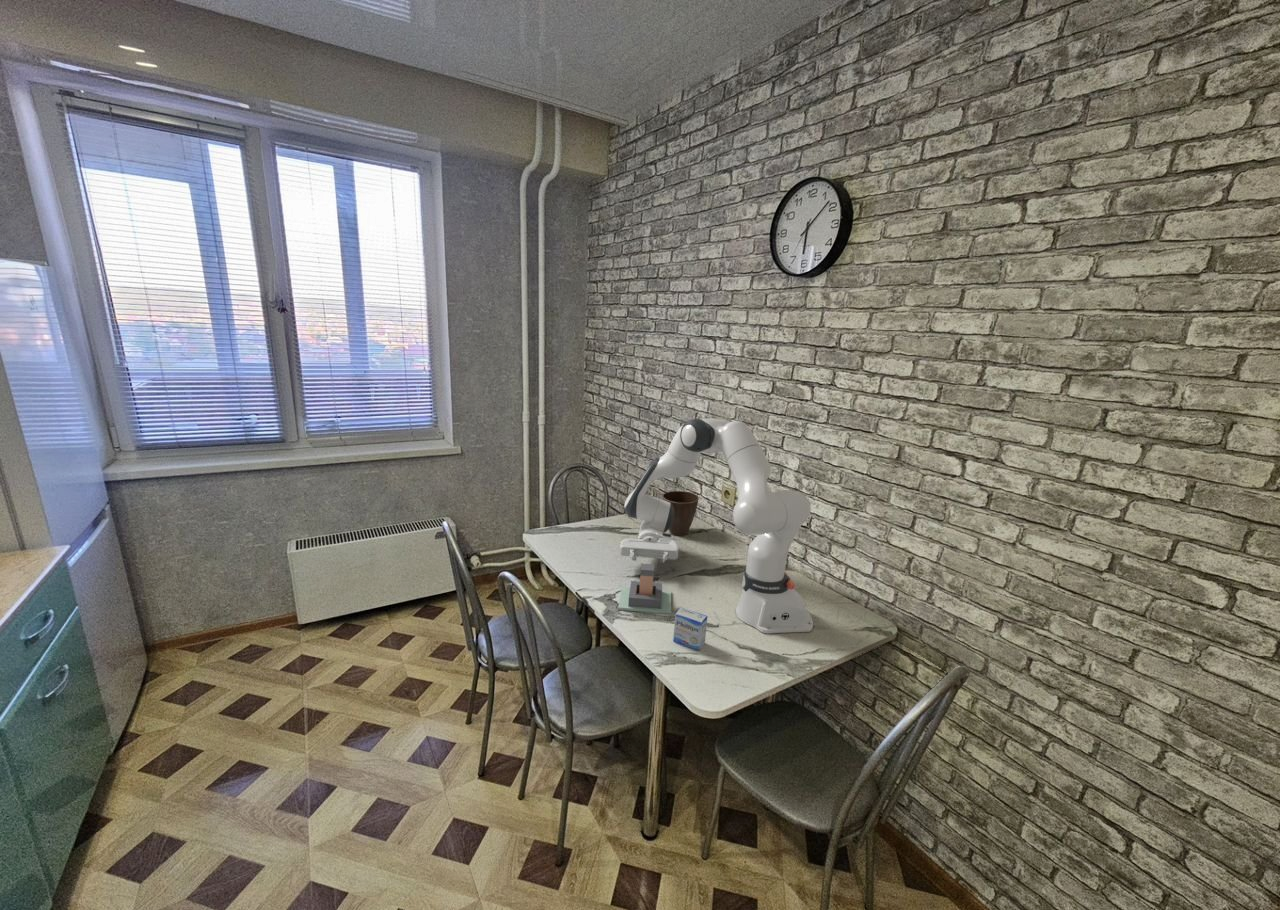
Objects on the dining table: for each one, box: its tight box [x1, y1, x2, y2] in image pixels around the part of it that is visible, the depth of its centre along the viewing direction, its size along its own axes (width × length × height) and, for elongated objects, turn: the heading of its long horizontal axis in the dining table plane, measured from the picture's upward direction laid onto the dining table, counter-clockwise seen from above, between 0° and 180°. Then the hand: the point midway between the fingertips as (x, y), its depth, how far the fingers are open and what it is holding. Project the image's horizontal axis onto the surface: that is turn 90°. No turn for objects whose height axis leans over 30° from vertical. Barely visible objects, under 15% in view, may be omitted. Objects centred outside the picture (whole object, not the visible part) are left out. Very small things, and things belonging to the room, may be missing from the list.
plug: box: [639, 563, 655, 596], centre depth 152 cm, size 4×4×11 cm
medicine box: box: [672, 606, 708, 651], centre depth 133 cm, size 8×4×9 cm, turn 62°
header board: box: [617, 580, 672, 615], centre depth 153 cm, size 16×12×4 cm
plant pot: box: [662, 490, 699, 537], centre depth 204 cm, size 15×15×16 cm
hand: (648, 559), depth 162 cm, fingers open, 8 cm apart
